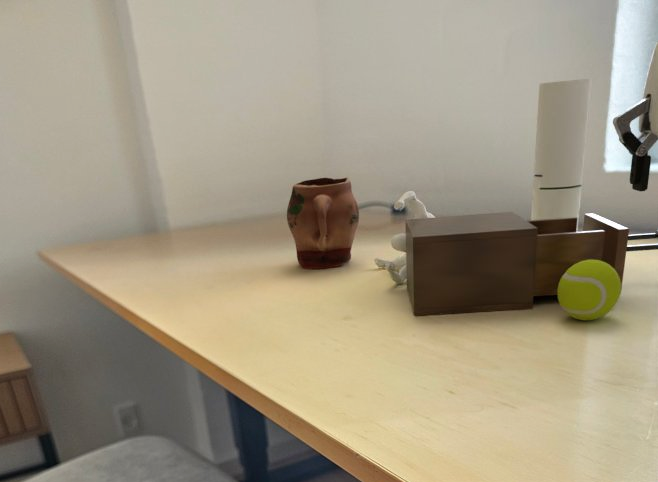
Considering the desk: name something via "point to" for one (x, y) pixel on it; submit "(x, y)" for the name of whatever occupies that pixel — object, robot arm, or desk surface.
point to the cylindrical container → (560, 149)
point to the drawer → (580, 248)
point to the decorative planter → (323, 221)
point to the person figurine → (402, 238)
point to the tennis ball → (589, 290)
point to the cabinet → (470, 263)
